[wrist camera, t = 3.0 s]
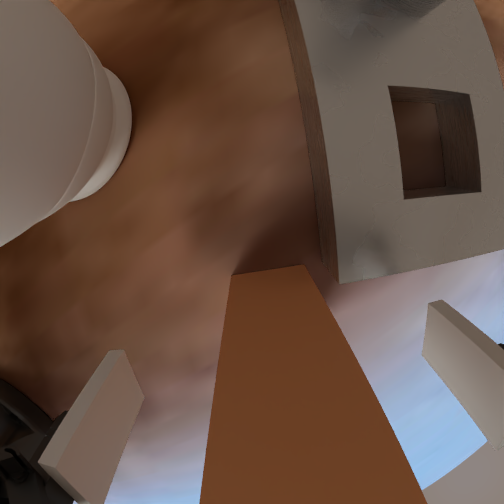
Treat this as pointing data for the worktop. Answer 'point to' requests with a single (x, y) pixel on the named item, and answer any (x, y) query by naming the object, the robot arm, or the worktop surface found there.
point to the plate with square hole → (384, 131)
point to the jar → (53, 116)
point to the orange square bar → (296, 406)
